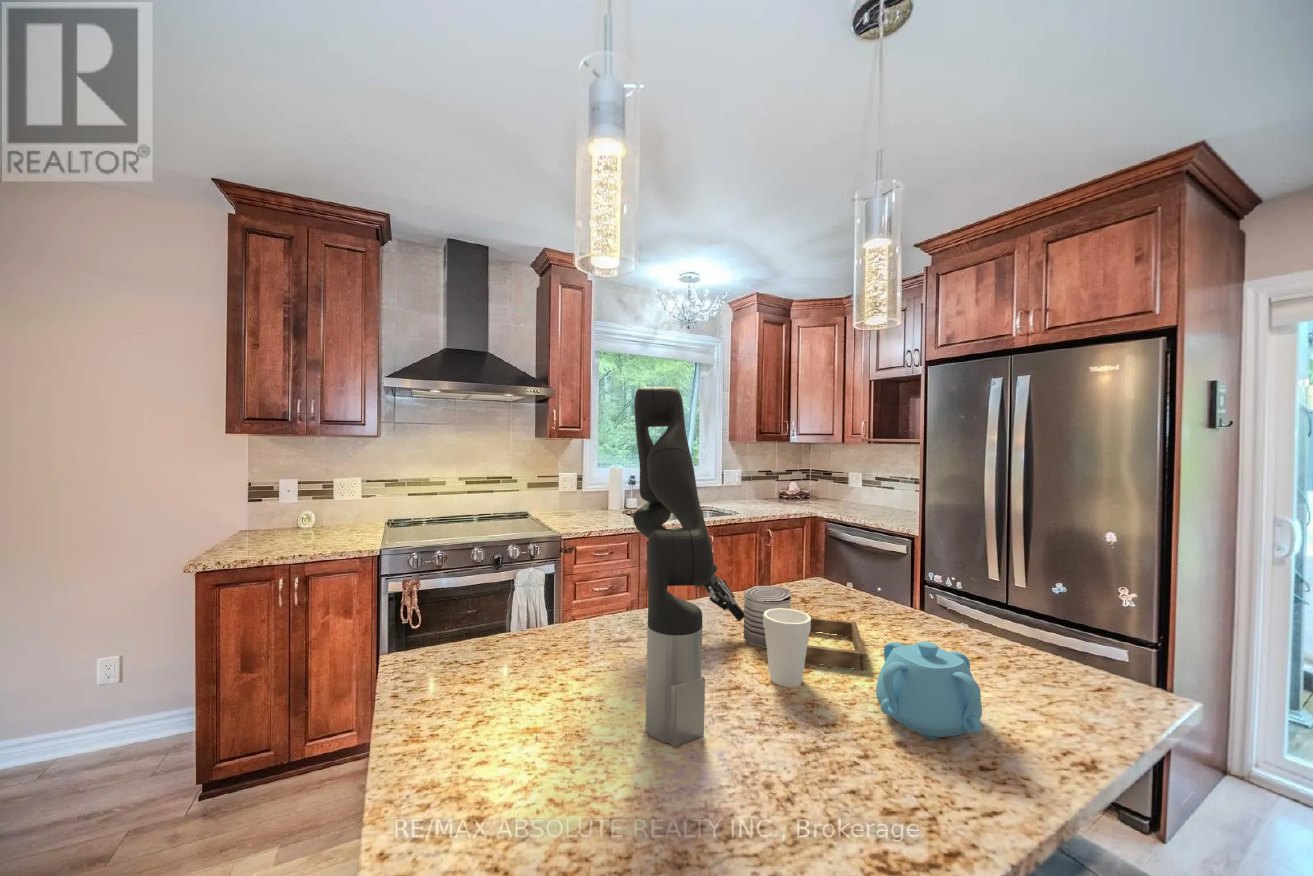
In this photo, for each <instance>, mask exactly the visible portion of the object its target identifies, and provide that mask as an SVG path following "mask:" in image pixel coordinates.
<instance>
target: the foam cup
mask: <svg viewBox="0 0 1313 876" xmlns="http://www.w3.org/2000/svg"><path fill="white" fill-rule="evenodd" d="M763 626H764V629H765V638H766V647H767V649H766V654H767V664H768V671H769V679H770V680H771V682H772V683H774V684H776V685H777V684H778V685H777V686H782V687H786V688H794V687H799V686H800V685H801V683H802V682H803V676H804V669H805V664H806V663H805V657H806V651H807V645H809V644H808V642H809V636H810V630H811V615H809V614H808V613H806V612H803V611H801V610H798V609H792V608H790V609H784V608H776V609H769V610H767V611H765V612H764V614H763Z"/></svg>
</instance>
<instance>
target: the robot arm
mask: <svg viewBox="0 0 1313 876" xmlns="http://www.w3.org/2000/svg"><path fill="white" fill-rule="evenodd" d="M683 403H684V402H683V398H682V395H681V392H680V391H679V389H678V388H676V387H672V386H643V387H642V386H641V387H639V388H638V389H637V390H636V392H635V396H634V407H633V408H634V422H635V424H634V425H635V438H636V444H637V453H638V460H639V462H638V463H639V495H640V497H641V499H642V500H644V501H645V502H646V503H645V504H644V505H642V506H641V507H639V508H638V509H637V510H635V511H634V513H633V517H632V520H633V524H634V526H635V528H636V529H637V531H638V532H640V533H641V534H642V535H643V536H644V537H646V538H647V539H648V540H647V550H646V557H647V558H646V559H647V561H646V565H647V585H648V586H647V588H648V589H647V590H648V592H647V597H648V598H647V633H646V635H647V637H646V638H647V639H646V640H647V641H646V677H645V678H646V681H645V682H646V683H645V684H646V685H645V688H646V689H645V730H646V732H647V734H648V735H649V736H650V737H651V738H653V739H655V740H657V741H659V742H662V743H667V744H670V745H672V746H673V747H677V746H681V745H683V744H686V743H688V742H690V741H693V740H695V739H698V738H700V737H702V736H703V737H704V735H705V705H706V704H705V700H706V699H705V698H706V696H705V695H706V694H705V693H706V678H705V677H704V676H703V675H702V655H703V651H702V650H703V611H702V610H701V608H700V607H699V606H697V604H695V603H692V602H690V601H687V600H684V599H681V598H679V597H677V596H675V595H673V594H672V593H670V592H669V590H668V587H673V586H674V587H675V586H676V587H680V586H681V587H683V586H684V587H685V586H686V587H688V586H689V587H691V586H694V587H695V588H696V589H698V588H701V586H703V587H704V589H705V590H706V593H707V595H709V600H710V602H712V603H713V604H715V605H716V606H717V607H719V608H721V609H722V610H724V611H726V610H727V611H729V612H730V614H732V615H733V617H734V618H735V620H736V621H739V622H741V620H744V609H742V608H741V607H740V606H739V604H738V603H737V601H736V599H735V598H736V597H735V595H734V593H733V592H732V590H731V588H730V587H729V585H728V584H727V582H726V580H725V579H722V578H720V577H718V576H717V575H716V574H715V573H716V572H717V571H718V566H717V565H716V564H715V562H714V554H713V547H712V542H711V539H710V535H709V532H708V528H707V525H706V521H705V518H704V515H703V512H702V507H701V504H700V499H699V493H698V488H697V480H696V473H695V468H694V463H693V459H692V454H691V452H690V451H691V450H690V446H689V442H688V436H687V431H686V423H685V421H686V420H685V413H684V404H683ZM657 427H658V428H661V427H663V428H665V427H666V430H665V432H663V434H662V435H661V436H660V437H659V438H658V439H657V440H656V442H655V443H654V442H653V440H652V438H651V436H650V432H649V431H650V430H649V428H657ZM671 515H674V517H675V518H676V519H677V520H678V522H679V524H680V526H681V527H680V526H675V527H672V528H666V527H665V526H663V525H664V524H665V523H667V522H668V520H670V518H671Z"/></svg>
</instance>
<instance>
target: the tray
mask: <svg viewBox="0 0 1313 876" xmlns="http://www.w3.org/2000/svg"><path fill="white" fill-rule="evenodd" d="M810 617H811V616H810ZM810 632H823V633H829V634H837V635H842V636H841V637H845V636H851V637H852V638H851V637H850V638H851V641H853V642H852V646H853V649H855V650H852V649H851V650H850V649H843V648H842V649H841V648H833V647H828V646H827V647H825V646H820V645H819V646H818V645H810V644H807V651H806V657H805V664H811V665H818V664H823V665H822V666H826V665H830V666H829V667H833V666H836V667H835V668H841V667H842V669H843V668H844V669H849V668H854V669H853V670H856V669H861V670H860V671H864V670H866V668H867V653H866V650H865V647H864V643H863V641H862V637H861V633H860V631H859V627H858V623H857V622H856V621H847V620H839V619H830V618H822V617H819V618H818V617H811V630H810Z"/></svg>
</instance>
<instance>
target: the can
mask: <svg viewBox="0 0 1313 876" xmlns="http://www.w3.org/2000/svg"><path fill="white" fill-rule="evenodd" d="M743 592H744V596H743V598H744V599H743V601H744V603H743V604H744V605H743V611H744V618H743V640H744V639H745V640H744V641H745V642H746V641H747V642H748V643H747V642H746V643H747V644H749V643H750V644H749V646H753V645H754V646H753V647H756V646H760V647H762V648H761V649H763V648H767V647H766V638H765V629H764V626H763V614H764V612H765V611H767V610H769V609H776V608H784V609H791V597H792V596H793V594H792V593H791V590H790V589H788V588H785V587H782V586H777V585H758V586H757V585H756V586H752V587H750V588H747V589H746V590H743ZM760 647H759V648H760Z"/></svg>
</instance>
